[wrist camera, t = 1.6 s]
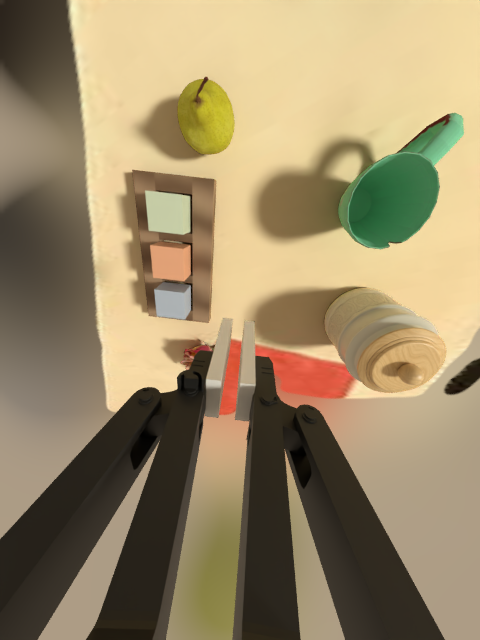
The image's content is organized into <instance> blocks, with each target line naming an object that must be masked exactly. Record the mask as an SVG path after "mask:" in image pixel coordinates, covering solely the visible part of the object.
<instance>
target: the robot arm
mask: <svg viewBox="0 0 480 640" xmlns="http://www.w3.org/2000/svg"><path fill="white" fill-rule="evenodd" d="M232 321H233V319H229V318H223V319H222V323H221V326H220V330H219V334H218V337H217V341H216V345H215V348H214V351H205V350H200V351H199V352H197V353H196V354H195V356H194V359H193V361H192V364H191V366H190V369H189V370H185V371H183V372H182V373H180V374H179V375H178V377H177V384H178V389H177V390H175V391H172V392H166V393H160V392H159V390H158V389H156V388H152V387H147V388H143V389H140V390H138V391H137V392H136V393H134V394H133V395H132V396H131V397H130V399H129V400H128V401H127V402H126V403H125V404H124V405H123V406H122V407H121V408H120V409H119V411H118V412H117V413H116V414H115V415H114V416H113V417H112V418H111V419H110V420H109V422H108V423H107V424H106V425H105V426H104V427H103V428H102V429H101V430H100V431H99V432H98V433H97V434H96V436H95V437H94V438H93V439H92V440H91V441H90V442H89V443H88V444H87V445H86V446H85V448H84V449H83V450H82V451H81V452H80V453H79V454H78V455H77V456H76V457H75V458H74V460H73V461H72V462H71V463H70V464H69V465H68V466H67V467H66V469H64V471H63V472H62V473H61V474H60V475H59V476H58V477H57V478H56V479H55V480H54V481H53V482H52V484H51V485H50V486H49V487H48V488H47V489H46V490H45V491H44V492H43V493H42V494H41V496H40V497H39V498H38V499H37V500H36V501H35V502H34V503H33V504H32V505H31V506H30V508H29V509H28V510H27V511H26V512H25V513H24V514H23V515H22V516H21V517H20V518H19V519H18V521H17V522H16V523H15V524H14V525H13V526H12V527H11V528H10V529H9V530H8V532H7V533H6V534H5V535H4V536H3V537H2V538H1V539H0V640H37V639H38V638H39V636H40V635H41V633H42V631H43V630H44V628H45V627H46V625H47V623H48V622H49V620H50V618H51V617H52V615H53V613H54V612H55V610H56V608H57V607H58V605H59V604H60V602H61V600H62V599H63V597H64V596H65V594H66V592H67V591H68V589H69V587H70V586H71V584H72V583H73V581H74V579H75V578H76V576H77V574H78V572H79V571H80V569H81V568H82V566H83V565H84V563H85V561H86V560H87V558H88V556H89V555H90V553H91V552H92V549H93V548H94V547H95V545H96V543H97V542H98V540H99V539H100V537H101V535H102V534H103V532H104V530H105V529H106V527H107V525H108V524H109V522H110V521H111V519H112V517H113V516H114V514H115V512H116V511H117V509H118V507H119V506H120V504H121V502H122V501H123V499H124V498H125V496H126V495H127V493H128V491H129V490H130V488H131V486H132V485H133V483H134V481H135V479H136V478H137V477H138V475H139V473H140V472H141V470H142V468H143V467H144V465H145V464H146V462H147V460H148V458H149V457H150V455H151V454H152V452H153V451H154V449H155V447H156V446H157V444H158V442H159V441H160V442H159V445H158V448H157V451H156V454H155V457H154V460H153V463H152V465H151V468H150V471H149V474H148V477H147V480H146V483H145V485H144V489H143V491H142V494H141V497H140V500H139V503H138V506H137V509H136V511H135V514H134V517H133V520H132V523H131V526H130V529H129V531H128V534H127V537H126V540H125V543H124V546H123V549H122V552H121V555H120V557H119V560H118V563H117V566H116V569H115V572H114V575H113V577H112V581H111V583H110V586H109V589H108V592H107V595H106V598H105V601H104V603H103V606H102V609H101V612H100V614H99V617H98V620H97V622H96V624H95V626H94V628H93V630H92V631H91V633H90V634H89V636H88V638H87V639H86V640H166V634H167V629H168V623H169V617H170V611H171V605H172V600H173V594H174V588H175V583H176V577H177V571H178V565H179V560H180V554H181V548H182V543H183V537H184V531H185V525H186V519H187V514H188V508H189V502H190V497H191V491H192V485H193V479H194V474H195V467H196V463H197V457H198V451H199V445H200V439H201V434H202V428H203V418H204V414H205V416H207V417H216V418H218V417H219V411H220V405H221V399H222V393H223V387H224V381H225V375H226V369H227V362H228V356H229V350H230V342H231V331H232ZM235 420H242V421H249V429H248V434H247V453H246V466H245V479H244V493H243V506H242V521H241V533H240V548H239V560H238V574H237V587H236V600H235V615H234V627H233V640H301V639H300V630H299V618H298V606H297V594H296V582H295V570H294V559H293V546H292V534H291V522H290V510H289V498H288V486H287V474H286V462H285V451H286V454H287V457H288V460H289V464H290V467H291V470H292V473H293V476H294V479H295V483H296V486H297V489H298V492H299V495H300V498H301V502H302V505H303V508H304V510H305V514H306V517H307V520H308V523H309V527H310V530H311V533H312V536H313V539H314V542H315V546H316V549H317V552H318V555H319V558H320V561H321V565H322V568H323V571H324V574H325V577H326V580H327V584H328V587H329V589H330V593H331V596H332V599H333V602H334V606H335V609H336V612H337V615H338V618H339V621H340V625H341V627H342V631H343V634H344V637H345V640H445V639H444V637H443V636H442V634H441V632H440V630H439V628H438V626H437V625H436V623H435V621H434V619H433V617H432V616H431V614H430V612H429V610H428V608H427V606H426V604H425V602H424V601H423V599H422V597H421V595H420V593H419V592H418V590H417V588H416V586H415V584H414V582H413V581H412V579H411V577H410V575H409V573H408V571H407V570H406V568H405V566H404V564H403V562H402V560H401V558H400V557H399V555H398V553H397V551H396V549H395V547H394V546H393V544H392V542H391V540H390V538H389V536H388V535H387V533H386V531H385V529H384V528H383V526H382V524H381V522H380V520H379V518H378V516H377V514H376V513H375V511H374V509H373V507H372V505H371V504H370V502H369V500H368V498H367V496H366V494H365V492H364V491H363V489H362V487H361V486H360V483H359V482H358V480H357V478H356V476H355V474H354V472H353V470H352V469H351V467H350V465H349V463H348V461H347V459H346V458H345V456H344V454H343V452H342V450H341V448H340V447H339V445H338V443H337V441H336V439H335V437H334V436H333V434H332V432H331V430H330V428H329V426H328V425H327V423H326V421H325V419H324V417H323V416H322V414H321V413H320V411H319V410H317V409H316V408H314V407H312V406H310V405H300V406H299V407H298V408H294V407H291V406H289V405H287V404H285V403H284V402H282V401H281V400H280V398H279V397H278V395H277V393H276V386H275V378H274V370H273V363H272V361H271V360H270V358H269V357H262V356H255V321H246V320H245V322H244V330H243V338H242V345H241V355H240V367H239V379H238V391H237V403H236V415H235ZM284 449H285V450H284Z"/></svg>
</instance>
